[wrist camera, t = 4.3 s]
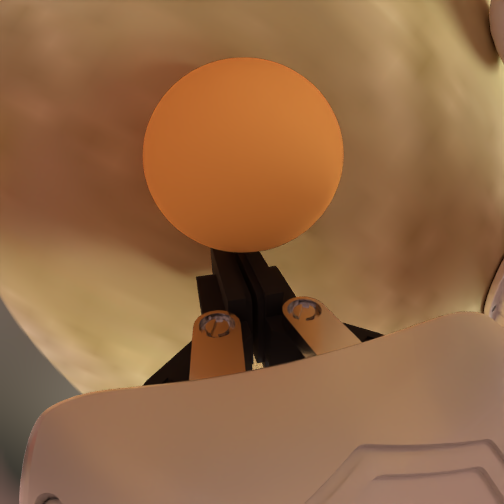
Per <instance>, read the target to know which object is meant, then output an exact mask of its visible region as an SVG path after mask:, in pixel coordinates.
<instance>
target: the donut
mask: <svg viewBox="0 0 504 504" xmlns="http://www.w3.org/2000/svg"><path fill="white" fill-rule="evenodd" d="M489 21H490V30H491V35H492V38H493V40H494V44H495V47H496V50H497V53H498V54H499V56H500V58H501V60H502V62H503V63H504V0H491V4H490V11H489Z"/></svg>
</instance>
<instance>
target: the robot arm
mask: <svg viewBox="0 0 504 504" xmlns="http://www.w3.org/2000/svg"><path fill="white" fill-rule="evenodd" d="M210 249H211V260H212V271H213V275H205V276H198V277H196V280H197V288H198V295H199V302H200V308H201V314H202V315H201V316H199V317H198V318H197V319H196V321H195V323H194V326H193V337H192V341H191V342H190V343H189V344H187V345H186V346H185V347H184V348H183V349H182V350H181V351H180V352H179V353H177V354H176V355H175V356H174V357H173V358H172V359H171V360H170V361H168V362H167V363H166V364H165V365H164V366H163V367H162V368H161V369H159V370H158V371H157V372H156V373H155V374H154V375H153V376H151V377H150V378H149V379H148V380H147V381H146V382H145V383H144V385H143V386H137V387H128V388H118V389H108V390H102V391H95V392H90V393H86V394H82V395H77V396H74V397H72V398H69V399H66V400H63V401H61V402H59V403H56V404H55V405H53V406H51V407H49V408H48V409H46V410H45V411H44V412H43V413H42V414H41V415H40V417H39V418H38V419H37V421H36V423H35V424H34V427H33V429H32V431H31V434H30V437H29V440H28V443H27V447H26V451H25V456H24V462H23V467H22V475H21V483H20V497H19V499H20V500H19V504H504V259H503V261H502V262H501V264H500V267H499V269H498V271H497V273H496V275H495V277H494V280H493V282H492V285H491V287H490V290H489V293H488V296H487V299H486V303H485V308H484V314H483V313H479V312H456V313H450V314H446V315H442V316H439V317H436V318H433V319H430V320H427V321H424V322H421V323H419V324H416V325H413V326H410V327H408V328H405V329H402V330H399V331H396V332H393V333H390V334H387V335H382V334H380V333H377V332H373V331H370V330H366V329H363V328H359V327H356V326H353V325H349V324H346V323H342V322H341V321H340V320H339V319H338V318H337V317H336V316H335V315H334V314H333V313H332V312H331V311H330V310H329V309H328V308H327V307H326V306H325V305H324V304H323V303H321V302H320V301H319V300H316V299H314V298H310V297H296V296H295V294H294V293H293V291H292V290H291V288H290V287H289V285H288V283H287V282H286V280H285V279H284V277H283V276H282V274H281V272H280V271H279V269H278V268H277V267H276V266H271V267H268V265H267V263H266V262H265V260H264V258H263V257H262V255H261V253H260V252H259V251H258V252H244V253H238V252H227V251H222V250H217V249H213V248H211V247H210ZM253 353H254V356H255V359H256V362H257V363H261V362H262V364H263V367H264V368H260V369H255V370H252V364H253Z"/></svg>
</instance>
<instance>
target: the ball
mask: <svg viewBox="0 0 504 504" xmlns="http://www.w3.org/2000/svg"><path fill="white" fill-rule="evenodd" d="M343 155H344V150H343V140H342V135H341V131H340V127H339V124H338V122H337V119H336V116H335V114H334V112H333V111H332V109H331V107H330V105H329V103H328V102H327V100H326V99H325V97H324V96H323V95H322V93H321V92H320V91H319V90H318V89H317V88H316V87H315V86H314V85H313V84H312V83H311V82H309V81H308V80H307V79H306V78H305V77H303V76H302V75H300V74H299V73H297V72H295V71H294V70H292V69H290V68H288V67H286V66H284V65H281V64H279V63H276V62H273V61H269V60H265V59H258V58H249V57H244V58H229V59H222V60H218V61H215V62H211V63H208V64H206V65H203V66H201V67H199V68H197V69H195V70H193V71H191V72H190V73H188V74H187V75H185V76H184V77H182V78H181V79H180V80H179V81H178V82H176V83H175V84H174V85H173V86H172V87H171V88H170V89H169V90H168V91H167V92H166V94H165V95H164V96H163V97H162V99H161V100H160V102H159V103H158V105H157V106H156V108H155V109H154V112H153V114H152V116H151V118H150V120H149V123H148V126H147V129H146V133H145V137H144V144H143V167H144V175H145V178H146V182H147V185H148V188H149V191H150V193H151V195H152V197H153V199H154V201H155V203H156V205H157V206H158V208H159V209H160V211H161V212H162V214H163V215H164V216H165V217H166V218H167V220H168V221H169V222H170V223H171V224H172V225H173V226H174V227H176V228H177V229H178V230H179V231H180V232H182V233H183V234H185V235H186V236H188V237H189V238H191V239H192V240H194V241H196V242H198V243H200V244H202V245H205V246H208V247H211V248H213V249H217V250H222V251H227V252H238V253H244V252H258V251H264V250H268V249H272V248H275V247H278V246H280V245H283V244H285V243H287V242H289V241H291V240H293V239H295V238H297V237H298V236H299V235H301V234H302V233H304V232H305V231H306V230H307V229H309V228H310V227H311V226H312V225H313V224H314V223H315V222H316V221H317V220H318V219H319V218H320V217H321V215H322V214H323V213H324V211H325V210H326V209H327V207H328V206H329V204H330V202H331V200H332V199H333V197H334V195H335V192H336V190H337V187H338V185H339V181H340V178H341V174H342V168H343Z"/></svg>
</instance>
